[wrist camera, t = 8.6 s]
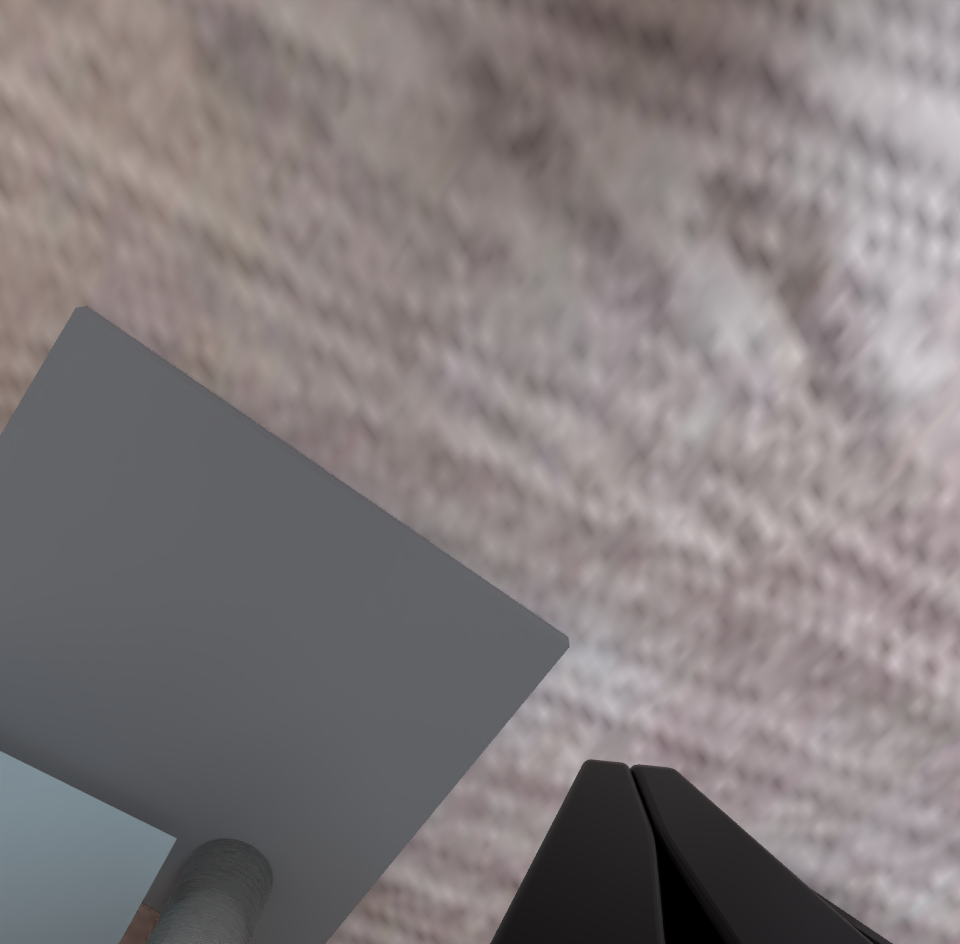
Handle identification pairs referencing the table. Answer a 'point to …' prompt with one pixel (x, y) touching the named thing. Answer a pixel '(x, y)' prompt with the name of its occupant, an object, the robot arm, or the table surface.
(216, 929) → the hinge post
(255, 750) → the mat
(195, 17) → the table surface
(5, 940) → the gate
